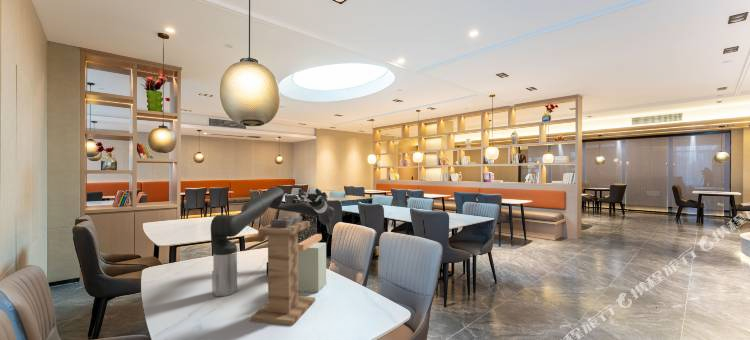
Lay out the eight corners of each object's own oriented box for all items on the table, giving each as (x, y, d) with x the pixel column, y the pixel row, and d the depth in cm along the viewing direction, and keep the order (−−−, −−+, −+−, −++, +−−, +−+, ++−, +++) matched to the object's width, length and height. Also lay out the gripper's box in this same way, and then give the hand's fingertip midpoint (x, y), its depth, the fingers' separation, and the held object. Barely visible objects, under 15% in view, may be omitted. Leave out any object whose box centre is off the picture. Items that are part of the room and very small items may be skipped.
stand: (293, 325, 108) (292, 223, 108) (250, 321, 111) (249, 222, 111) (315, 301, 128) (314, 215, 128) (278, 298, 131) (277, 214, 131)
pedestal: (318, 292, 137) (318, 248, 137) (292, 290, 140) (292, 246, 139) (326, 284, 147) (326, 242, 147) (301, 282, 149) (301, 241, 149)
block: (303, 250, 133) (303, 244, 133) (296, 250, 133) (296, 244, 133) (321, 239, 154) (321, 234, 154) (315, 239, 155) (315, 233, 155)
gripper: (330, 210, 167) (320, 197, 154) (304, 210, 170) (292, 196, 156) (332, 197, 171) (323, 183, 157) (307, 197, 174) (296, 183, 160)
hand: (308, 190), depth 157 cm, fingers open, 8 cm apart
